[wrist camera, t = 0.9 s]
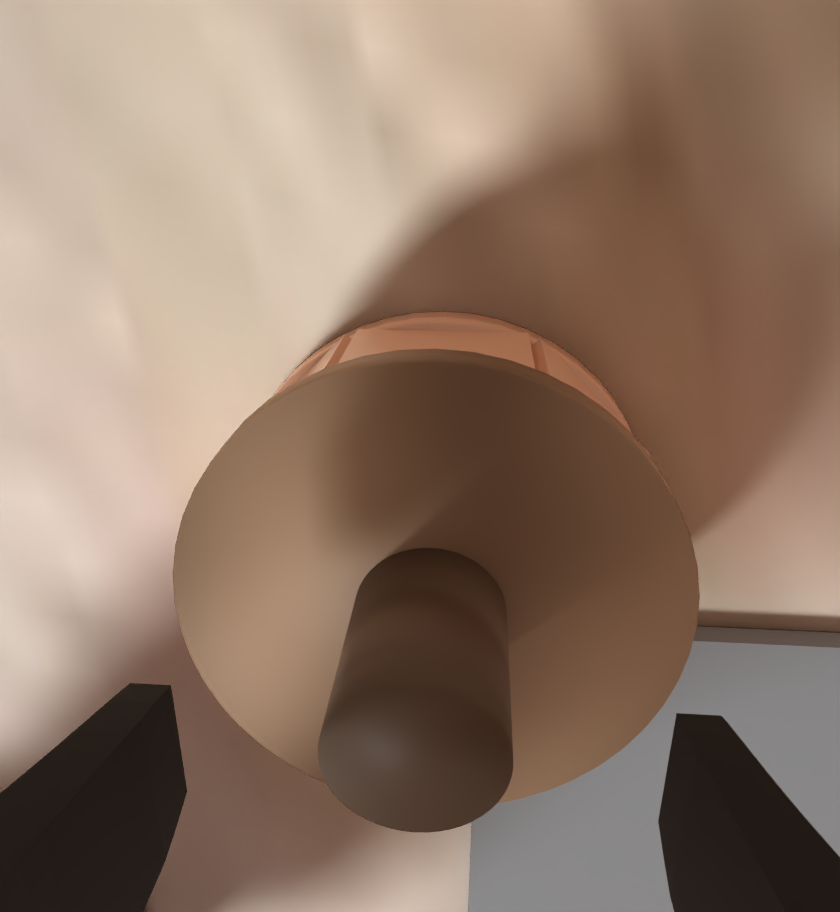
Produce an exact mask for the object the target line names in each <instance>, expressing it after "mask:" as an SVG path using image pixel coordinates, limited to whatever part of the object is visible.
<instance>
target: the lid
mask: <svg viewBox="0 0 840 912" xmlns="http://www.w3.org/2000/svg"><path fill="white" fill-rule="evenodd" d="M173 583H174V598H175V606H176V610H177V615H178V620H179V624H180V629H181V632H182V635H183V637H184V640H185V643H186V646H187V648H188V651H189V654H190V656H191V658H192V660H193V662H194V664H195V666H196V668H197V670H198V671H199V673H200V675H201V677H202V679H203V681H204V683H205V684H206V685H207V687H208V688H209V690H210V691H211V692H212V694H213V695H214V697H215V698H216V699H217V701H218V702H219V704H220V705H221V706H222V707H223V708H224V710H225V711H226V712H227V713H228V714H229V715H230V716H231V717H232V718H233V719H234V721H235V722H236V723H237V724H238V725H239V726H240V727H241V728H242V729H243V730H244V731H246V732H247V733H248V734H249V735H250V736H251V737H252V738H254V739H255V740H256V741H257V742H258V743H259V744H260V745H262V746H263V747H264V748H266V749H267V750H269V751H270V752H272V753H273V754H274V755H276V756H277V757H279V758H280V759H282V760H283V761H284V762H286V763H288V764H289V765H291V766H293V767H295V768H297V769H298V770H300V771H302V772H304V773H306V774H308V775H309V776H311V777H313V778H315V779H318V780H320V781H323V782H325V783H327V785H328V786H329V788H330V789H331V791H332V792H333V793H334V795H335V796H336V797H337V798H338V799H339V800H340V801H341V802H342V803H343V804H344V805H346V806H347V807H348V808H349V809H351V810H352V811H353V812H355V813H356V814H358V815H360V816H362V817H363V818H365V819H367V820H369V821H371V822H374V823H376V824H379V825H382V826H385V827H388V828H392V829H396V830H401V831H409V832H437V831H443V830H449V829H453V828H456V827H460V826H463V825H465V824H468V823H470V822H472V821H474V820H476V819H478V818H479V817H481V816H483V815H484V814H485V813H487V812H488V811H489V810H491V809H492V808H493V807H494V806H495V805H496V804H497V803H503V802H508V801H513V800H518V799H522V798H525V797H529V796H532V795H535V794H539V793H542V792H545V791H548V790H551V789H553V788H555V787H558V786H560V785H563V784H565V783H567V782H570V781H572V780H574V779H576V778H578V777H580V776H582V775H583V774H585V773H587V772H589V771H591V770H592V769H594V768H596V767H598V766H600V765H601V764H602V763H604V762H605V761H607V760H608V759H609V758H611V757H612V756H613V755H615V754H616V753H618V752H619V751H620V750H622V749H623V748H624V747H625V746H626V745H628V744H629V743H630V742H631V741H632V740H633V739H634V738H635V737H636V736H637V735H638V734H639V733H640V732H641V731H643V730H644V729H645V728H646V726H647V725H648V724H649V723H650V721H651V720H652V719H653V718H654V717H655V715H656V714H657V713H658V712H659V710H660V709H661V708H662V707H663V706H664V704H665V702H666V701H667V699H668V697H669V696H670V694H671V692H672V691H673V689H674V687H675V686H676V684H677V683H678V681H679V678H680V676H681V674H682V671H683V669H684V667H685V664H686V662H687V660H688V657H689V655H690V651H691V647H692V643H693V639H694V635H695V631H696V627H697V618H698V607H699V583H698V568H697V563H696V558H695V554H694V550H693V545H692V541H691V537H690V534H689V531H688V529H687V527H686V524H685V522H684V519H683V517H682V514H681V512H680V509H679V507H678V505H677V503H676V501H675V498H674V496H673V494H672V492H671V490H670V488H669V486H668V484H667V483H666V481H665V479H664V478H663V476H662V474H661V473H660V471H659V469H658V468H657V466H656V464H655V462H654V461H653V459H652V458H651V456H650V455H649V454H648V453H647V451H646V450H645V449H644V448H643V447H642V445H641V444H640V443H639V442H638V440H637V439H636V438H635V437H634V436H633V434H632V433H631V432H630V431H629V430H628V429H627V428H626V427H625V426H624V425H622V424H621V423H620V422H619V421H618V420H617V419H616V418H615V417H614V416H613V415H612V414H611V413H609V412H608V411H607V410H606V409H605V408H604V407H602V406H601V405H599V404H598V403H596V402H595V401H593V400H592V399H591V398H589V397H588V396H586V395H585V394H583V393H582V392H580V391H579V390H578V389H576V388H574V387H572V386H570V385H568V384H566V383H564V382H562V381H560V380H558V379H557V378H555V377H553V376H551V375H549V374H547V373H545V372H542V371H540V370H537V369H534V368H531V367H528V366H525V365H523V364H520V363H517V362H514V361H511V360H508V359H504V358H499V357H495V356H490V355H485V354H481V353H476V352H470V351H458V350H447V349H410V350H396V351H390V352H384V353H378V354H372V355H366V356H361V357H358V358H355V359H352V360H348V361H345V362H342V363H339V364H335V365H332V366H329V367H327V368H325V369H322V370H320V371H318V372H316V373H314V374H312V375H309V376H307V377H305V378H303V379H301V380H299V381H297V382H295V383H294V384H292V385H290V386H289V387H287V388H286V389H284V390H283V391H281V392H280V393H278V394H276V395H275V396H273V397H272V398H270V399H269V400H268V401H267V402H265V403H264V404H263V405H262V406H261V407H260V408H258V409H257V410H256V411H255V412H254V413H253V414H252V415H250V416H249V417H248V418H247V419H246V420H245V421H244V422H243V423H242V424H241V425H240V427H239V428H238V429H237V430H236V431H235V432H234V434H233V435H232V436H231V437H230V438H229V439H228V441H227V442H226V443H225V444H224V445H223V447H222V448H221V449H220V451H219V452H218V453H217V455H216V456H215V457H214V458H213V460H212V461H211V462H210V464H209V466H208V467H207V469H206V471H205V472H204V474H203V475H202V477H201V479H200V480H199V482H198V483H197V485H196V487H195V488H194V490H193V493H192V495H191V498H190V500H189V502H188V505H187V507H186V509H185V512H184V514H183V516H182V520H181V524H180V529H179V533H178V537H177V541H176V545H175V555H174V567H173Z"/></svg>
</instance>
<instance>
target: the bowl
mask: <svg viewBox="0 0 840 912" xmlns="http://www.w3.org/2000/svg"><path fill="white" fill-rule="evenodd" d="M410 349H447V350H458V351H470V352H476V353H481V354H485V355H490V356H495V357H499V358H504V359H508V360H511V361H514V362H517V363H520V364H523V365H525V366H528V367H531V368H534V369H537V370H540V371H542V372H545V373H547V374H549V375H551V376H553V377H555V378H557V379H558V380H560V381H562V382H564V383H566V384H568V385H570V386H572V387H574V388H576V389H578V390H579V391H580V392H582V393H583V394H585V395H586V396H588V397H589V398H591V399H592V400H593V401H595V402H596V403H598V404H599V405H601V406H602V407H604V408H605V409H606V410H607V411H608V412H609V413H611V414H612V415H613V416H614V417H615V418H616V419H617V420H618V421H619V422H620V423H621V424H622V425H624V426H625V427H626V428H627V429H628V430H629V431H630V432H631V430H630V428H629V426H628V424H627V421H626V419H625V418H624V416H623V414H622V413H621V411H620V409H619V408H618V406H617V404H616V403H615V401H614V399H613V398H612V396H611V395H610V394H609V393H608V391H607V390H606V389H605V388H604V386H603V385H602V384H601V383H600V381H599V380H598V379H597V378H596V377H595V376H594V375H593V374H592V373H591V372H590V371H589V370H588V369H587V368H586V367H585V366H583V365H582V364H581V363H580V362H579V361H578V360H577V359H576V358H575V357H573V356H572V355H570V354H569V353H567V352H566V351H565V350H563V349H562V348H560V347H559V346H557V345H556V344H555V343H553V342H551V341H549V340H547V339H545V338H543V337H541V336H540V335H538V334H536V333H534V332H532V331H530V330H528V329H525V328H522V327H519V326H517V325H514V324H511V323H508V322H506V321H503V320H499V319H495V318H490V317H485V316H481V315H476V314H469V313H457V312H446V311H443V312H420V313H411V314H406V315H400V316H394V317H389V318H385V319H382V320H379V321H376V322H373V323H370V324H366V325H363V326H361V327H358V328H356V329H354V330H352V331H350V332H348V333H346V334H344V335H342V336H339V337H337V338H336V339H334V340H333V341H331V342H330V343H328V344H326V345H325V346H323V347H322V348H320V349H319V350H317V351H316V352H314V353H313V354H312V355H311V356H310V357H309V358H307V359H306V360H305V361H304V362H303V363H302V364H301V365H299V366H298V367H297V368H296V369H295V370H294V371H293V372H292V374H291V375H290V376H289V377H288V378H287V379H286V381H285V382H284V383H283V384H282V385H281V386H280V387H279V389H278V390H277V391H276V393H275V394H274V396H275V395H276V394H278V393H280V392H281V391H283V390H284V389H286V388H287V387H289V386H290V385H292V384H294V383H295V382H297V381H299V380H301V379H303V378H305V377H307V376H309V375H312V374H314V373H316V372H318V371H320V370H322V369H325V368H327V367H329V366H332V365H335V364H339V363H342V362H345V361H348V360H352V359H355V358H358V357H361V356H366V355H372V354H378V353H384V352H390V351H396V350H410ZM631 433H632V432H631ZM642 447H643V446H642ZM643 448H644V447H643ZM644 449H645V448H644ZM645 450H646V449H645ZM646 451H647V450H646ZM647 453H648V454H649V455H650V453H649V452H648V451H647Z"/></svg>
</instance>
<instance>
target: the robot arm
mask: <svg viewBox="0 0 840 912" xmlns="http://www.w3.org/2000/svg"><path fill="white" fill-rule="evenodd" d="M186 793H187V788H186V781H185V775H184V768H183V762H182V755H181V749H180V742H179V736H178V729H177V723H176V716H175V710H174V703H173V697H172V690H171V686H170V685H152V684H134V683H130V684H129V685H128V686H126V687H125V688H124V689H123V690H121V691H120V692H119V693H118V694H117V695H116V696H114V697H113V698H112V699H111V700H110V701H109V702H107V703H106V704H105V705H104V706H103V707H102V708H100V709H99V710H98V711H97V712H96V713H95V714H93V715H92V716H91V717H90V718H89V719H88V720H87V721H85V722H84V723H83V724H82V725H81V726H80V727H78V728H77V729H76V730H75V731H74V732H73V733H71V734H70V735H69V736H68V737H67V738H66V739H65V740H63V741H62V742H61V743H60V744H59V745H58V746H56V747H55V748H54V749H53V750H52V751H51V752H49V753H48V754H47V755H46V756H45V757H43V758H42V759H41V760H40V761H39V762H37V763H36V764H35V765H34V766H33V767H31V768H30V769H29V770H28V771H27V772H26V773H24V774H23V775H22V776H21V777H20V778H18V779H17V780H16V781H15V782H14V783H12V784H11V785H10V786H9V787H8V788H6V789H5V790H4V791H2V792H1V793H0V912H143V910H144V908H145V906H146V903H147V901H148V899H149V897H150V894H151V892H152V890H153V888H154V885H155V883H156V881H157V879H158V876H159V874H160V872H161V869H162V867H163V865H164V862H165V860H166V857H167V854H168V851H169V847H170V844H171V841H172V838H173V835H174V832H175V829H176V826H177V823H178V819H179V816H180V813H181V809H182V806H183V803H184V799H185V796H186ZM658 823H659V830H660V837H661V843H662V850H663V856H664V863H665V869H666V875H667V881H668V887H669V893H670V898H671V902H672V905H673V909H674V912H840V857H839V855H838V854H837V853H836V852H835V851H834V850H833V849H832V847H831V846H830V845H829V844H828V843H827V842H826V841H825V839H824V838H823V837H822V836H821V835H820V834H819V833H818V831H817V830H816V829H815V828H814V827H813V826H812V825H811V823H810V822H809V821H808V820H807V819H806V818H805V817H804V815H803V814H802V813H801V812H800V811H799V810H798V808H797V807H796V806H795V805H794V804H793V802H792V801H791V800H790V799H789V798H788V796H787V795H786V794H785V793H784V792H783V790H782V789H781V788H780V787H779V785H778V784H777V783H776V782H775V781H774V779H773V778H772V777H771V776H770V775H769V773H768V772H767V771H766V770H765V768H764V767H763V766H762V765H761V763H760V762H759V761H758V760H757V758H756V757H755V756H754V755H753V753H752V752H751V751H750V750H749V748H748V747H747V746H746V745H745V743H744V742H743V741H742V740H741V738H740V737H739V736H738V735H737V733H736V732H735V731H734V730H733V728H732V727H731V726H730V725H729V723H728V722H727V721H726V720H725V719H724V718H723V717H722V716H720V715H702V714H683V713H676V719H675V725H674V731H673V737H672V743H671V749H670V754H669V760H668V766H667V772H666V778H665V784H664V790H663V796H662V802H661V807H660V813H659V819H658Z"/></svg>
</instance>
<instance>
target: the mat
mask: <svg viewBox="0 0 840 912" xmlns="http://www.w3.org/2000/svg"><path fill="white" fill-rule="evenodd" d="M676 713H683V714H702V715H720V716H722V717H723V718H724V719H725V720H726V721H727V722H728V723H729V725H730V726H731V727H732V728H733V730H734V731H735V732H736V733H737V735H738V736H739V737H740V738H741V740H742V741H743V742H744V743H745V745H746V746H747V747H748V748H749V750H750V751H751V752H752V753H753V755H754V756H755V757H756V758H757V760H758V761H759V762H760V763H761V765H762V766H763V767H764V768H765V770H766V771H767V772H768V773H769V775H770V776H771V777H772V778H773V779H774V781H775V782H776V783H777V784H778V785H779V787H780V788H781V789H782V790H783V792H784V793H785V794H786V795H787V796H788V798H789V799H790V800H791V801H792V802H793V804H794V805H795V806H796V807H797V808H798V810H799V811H800V812H801V813H802V814H803V815H804V817H805V818H806V819H807V820H808V821H809V822H810V823H811V825H812V826H813V827H814V828H815V829H816V830H817V831H818V833H819V834H820V835H821V836H822V837H823V838H824V839H825V841H826V842H827V843H828V844H829V845H830V846H831V847H832V849H833V850H834V851H835V852H836V853H837V854H838V855H839V857H840V633H832V632H811V631H789V630H767V629H745V628H723V627H701V626H697V627H696V631H695V635H694V639H693V643H692V647H691V651H690V655H689V657H688V660H687V662H686V664H685V667H684V669H683V671H682V674H681V676H680V678H679V681H678V683H677V684H676V686H675V687H674V689H673V691H672V692H671V694H670V696H669V697H668V699H667V701H666V702H665V704H664V706H663V707H662V708H661V709H660V710H659V712H658V713H657V714H656V715H655V717H654V718H653V719H652V720H651V721H650V723H649V724H648V725H647V726H646V728H645V729H644V730H643V731H641V732H640V733H639V734H638V735H637V736H636V737H635V738H634V739H633V740H632V741H631V742H630V743H629V744H628V745H626V746H625V747H624V748H623V749H622V750H620V751H619V752H618V753H616V754H615V755H613V756H612V757H611V758H609V759H608V760H607V761H605V762H604V763H602V764H601V765H600V766H598V767H596V768H594V769H592V770H591V771H589V772H587V773H585V774H583V775H582V776H580V777H578V778H576V779H574V780H572V781H570V782H567V783H565V784H563V785H560V786H558V787H555V788H553V789H551V790H548V791H545V792H542V793H539V794H535V795H532V796H529V797H525V798H522V799H518V800H513V801H508V802H503V803H497V804H496V805H495V806H494V807H493V808H492V809H491V810H489V811H488V812H487V813H485V814H484V815H483V816H481V817H479V818H478V819H476V820H474V821H472V830H471V855H470V880H469V904H468V912H674V909H673V905H672V902H671V898H670V893H669V887H668V881H667V875H666V869H665V863H664V856H663V850H662V843H661V837H660V830H659V823H658V819H659V813H660V807H661V802H662V796H663V790H664V784H665V778H666V772H667V766H668V760H669V754H670V749H671V743H672V737H673V731H674V725H675V719H676Z"/></svg>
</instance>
